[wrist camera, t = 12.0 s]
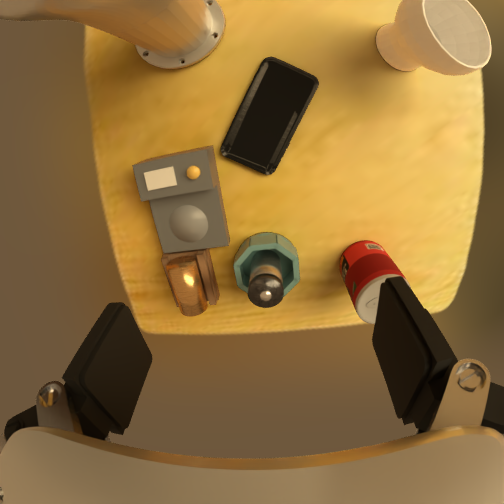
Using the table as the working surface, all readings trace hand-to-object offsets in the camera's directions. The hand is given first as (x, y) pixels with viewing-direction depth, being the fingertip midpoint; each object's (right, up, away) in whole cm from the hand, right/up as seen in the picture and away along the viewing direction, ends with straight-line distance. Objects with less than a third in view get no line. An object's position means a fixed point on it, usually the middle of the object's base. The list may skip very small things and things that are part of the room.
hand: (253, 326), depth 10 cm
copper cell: (-9, -2, +34) cm, 35 cm away
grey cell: (+2, +1, +33) cm, 33 cm away
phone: (+2, +21, +24) cm, 32 cm away
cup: (+21, +31, +17) cm, 41 cm away
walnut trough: (-9, -1, +35) cm, 36 cm away
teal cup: (+2, +1, +33) cm, 33 cm away
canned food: (+17, +1, +33) cm, 37 cm away
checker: (-9, +10, +29) cm, 32 cm away
